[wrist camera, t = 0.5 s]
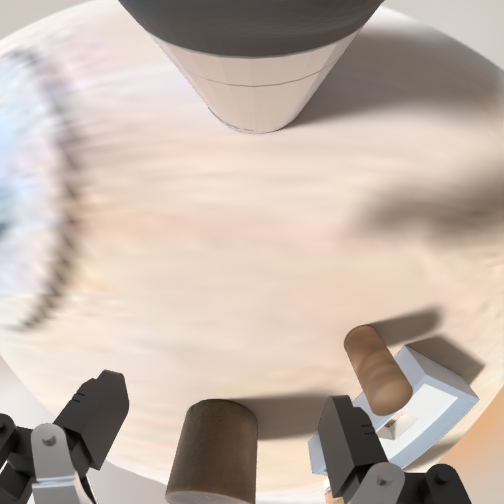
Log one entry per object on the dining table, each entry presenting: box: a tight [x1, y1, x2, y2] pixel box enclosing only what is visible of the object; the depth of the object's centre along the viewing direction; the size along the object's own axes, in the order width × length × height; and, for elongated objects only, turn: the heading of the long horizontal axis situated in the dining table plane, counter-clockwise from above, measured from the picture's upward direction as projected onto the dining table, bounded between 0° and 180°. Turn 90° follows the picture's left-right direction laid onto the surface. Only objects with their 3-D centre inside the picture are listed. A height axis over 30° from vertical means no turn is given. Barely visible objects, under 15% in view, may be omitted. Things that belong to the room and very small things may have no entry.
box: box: [308, 345, 480, 476], centre depth 30 cm, size 20×16×6 cm
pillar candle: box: [165, 400, 258, 504], centre depth 26 cm, size 10×10×15 cm
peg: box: [344, 325, 413, 416], centre depth 24 cm, size 4×4×10 cm
